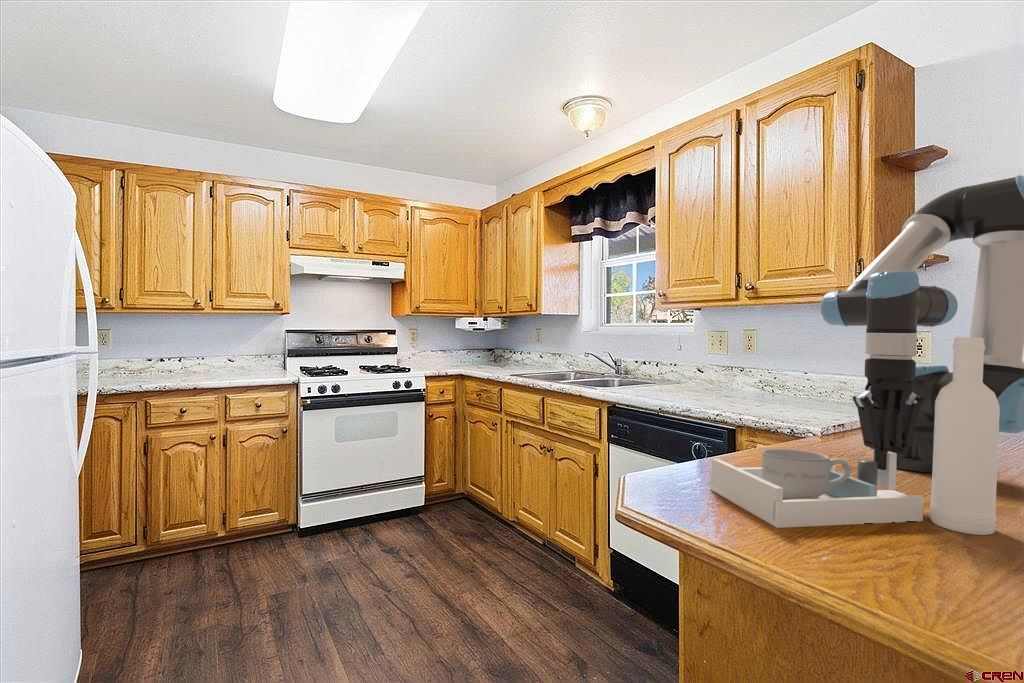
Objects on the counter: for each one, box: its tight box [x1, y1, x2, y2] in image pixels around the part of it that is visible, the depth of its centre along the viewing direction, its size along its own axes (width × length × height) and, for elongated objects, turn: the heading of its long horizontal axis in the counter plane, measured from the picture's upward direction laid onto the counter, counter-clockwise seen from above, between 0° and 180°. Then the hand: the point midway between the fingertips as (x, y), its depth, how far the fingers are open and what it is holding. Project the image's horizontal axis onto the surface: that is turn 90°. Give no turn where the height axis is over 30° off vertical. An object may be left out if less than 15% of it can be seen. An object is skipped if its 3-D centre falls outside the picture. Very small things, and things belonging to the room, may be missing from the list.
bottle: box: [929, 336, 1000, 536], centre depth 84 cm, size 8×8×30 cm
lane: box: [709, 458, 925, 529], centre depth 95 cm, size 33×20×6 cm, turn 99°
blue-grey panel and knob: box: [826, 459, 878, 498], centre depth 95 cm, size 8×15×6 cm, turn 9°
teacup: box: [761, 448, 852, 500], centre depth 94 cm, size 14×11×8 cm
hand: (885, 487), depth 96 cm, fingers closed
